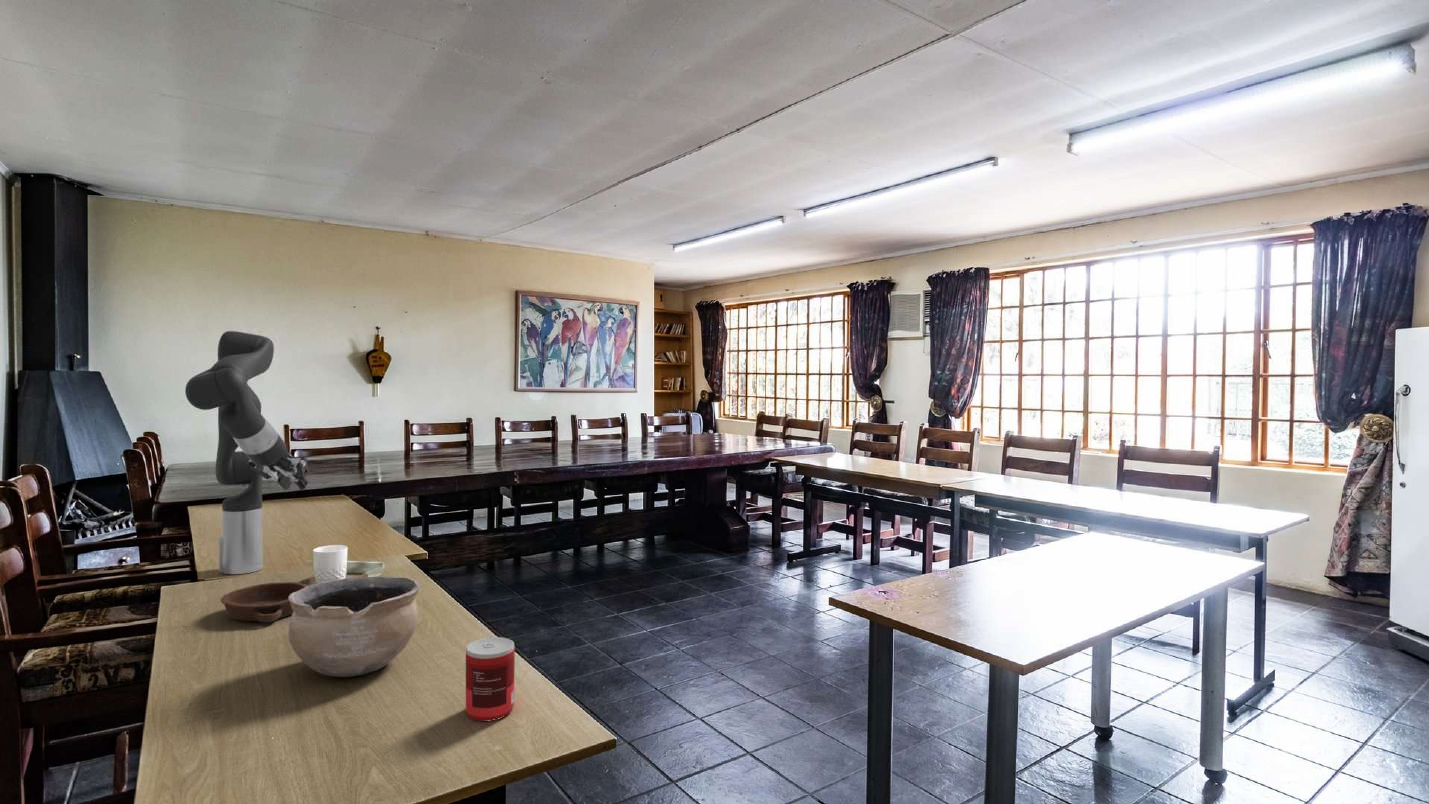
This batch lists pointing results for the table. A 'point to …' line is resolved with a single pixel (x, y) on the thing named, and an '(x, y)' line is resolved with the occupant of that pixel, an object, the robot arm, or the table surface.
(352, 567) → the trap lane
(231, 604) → the dish
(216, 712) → the table surface
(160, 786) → the table surface
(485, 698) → the canned food
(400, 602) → the ceramic bowl
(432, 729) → the table surface
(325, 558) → the white cup
